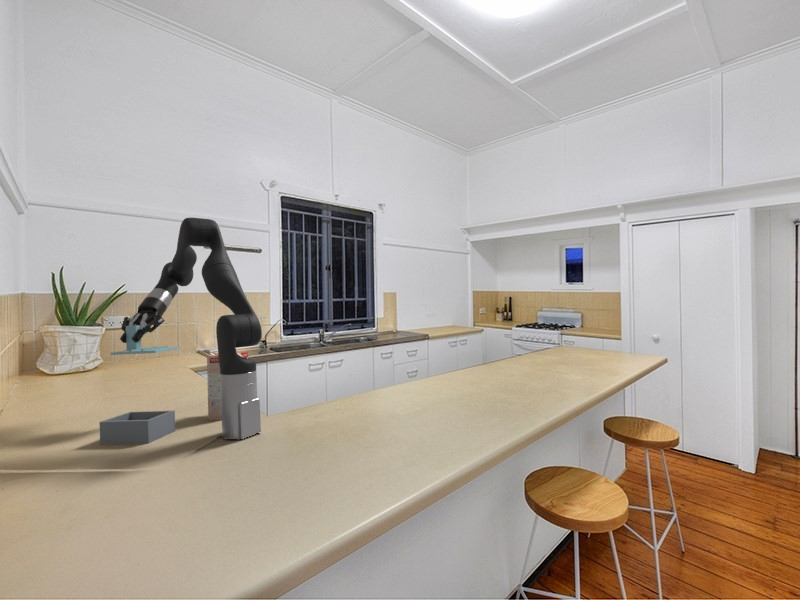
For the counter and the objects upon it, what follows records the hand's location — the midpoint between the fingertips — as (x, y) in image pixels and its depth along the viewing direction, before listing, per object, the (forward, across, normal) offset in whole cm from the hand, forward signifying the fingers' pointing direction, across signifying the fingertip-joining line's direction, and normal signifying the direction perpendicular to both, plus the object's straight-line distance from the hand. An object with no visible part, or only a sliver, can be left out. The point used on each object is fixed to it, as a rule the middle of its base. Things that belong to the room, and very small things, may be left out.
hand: (128, 340), depth 119 cm
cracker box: (+13, +29, +25) cm, 40 cm away
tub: (+29, +15, +9) cm, 34 cm away
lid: (+1, +4, +4) cm, 6 cm away
